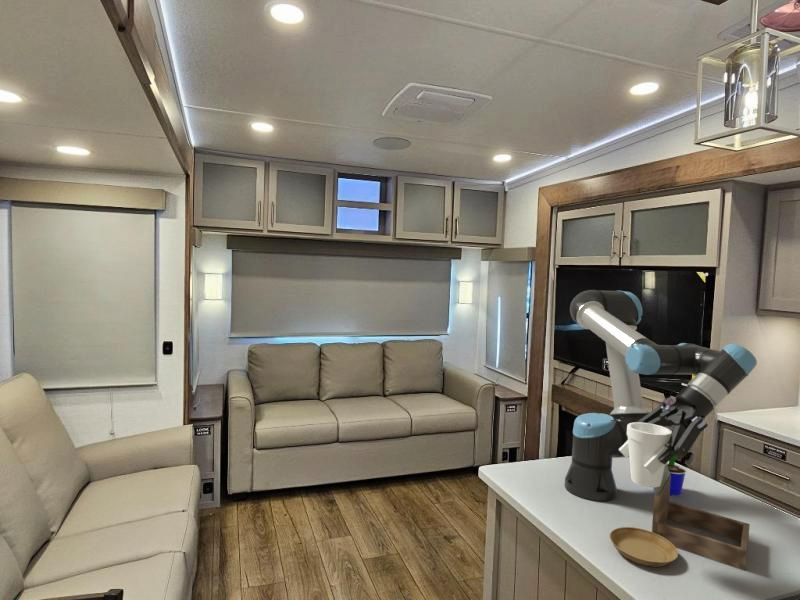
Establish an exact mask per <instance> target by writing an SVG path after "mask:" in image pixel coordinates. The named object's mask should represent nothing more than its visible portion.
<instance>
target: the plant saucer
mask: <svg viewBox="0 0 800 600" xmlns="http://www.w3.org/2000/svg"><path fill="white" fill-rule="evenodd" d="M609 539H610V541H611V543H612V545H613V546H614V548H615V549H616V550H617V551H618V552H619V554H621V555H622V556H623V557H625V559H627V560H629V561H632V562H633V563H635V564H638V565H641V566H644V567H645V566H646V567H650V568H651V567H653V568H658V567H664V566H666V565H668V564H670V563H672V562H673V561H675V560H676V559H678V557H679V556H678V555H679V551H678V548H676V547H675V546H674V545H673V544H672V543H671V542H670V541H668V540H667V539H665V538H664V537H662V536H660V535H658V534H656V533H653V532H652V531H650V530H647V529H644V528H638V527H631V526H630V527H629V526H624V527H623V526H622V527H617V528H615V529H613V530H611V531H610V533H609Z"/></svg>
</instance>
